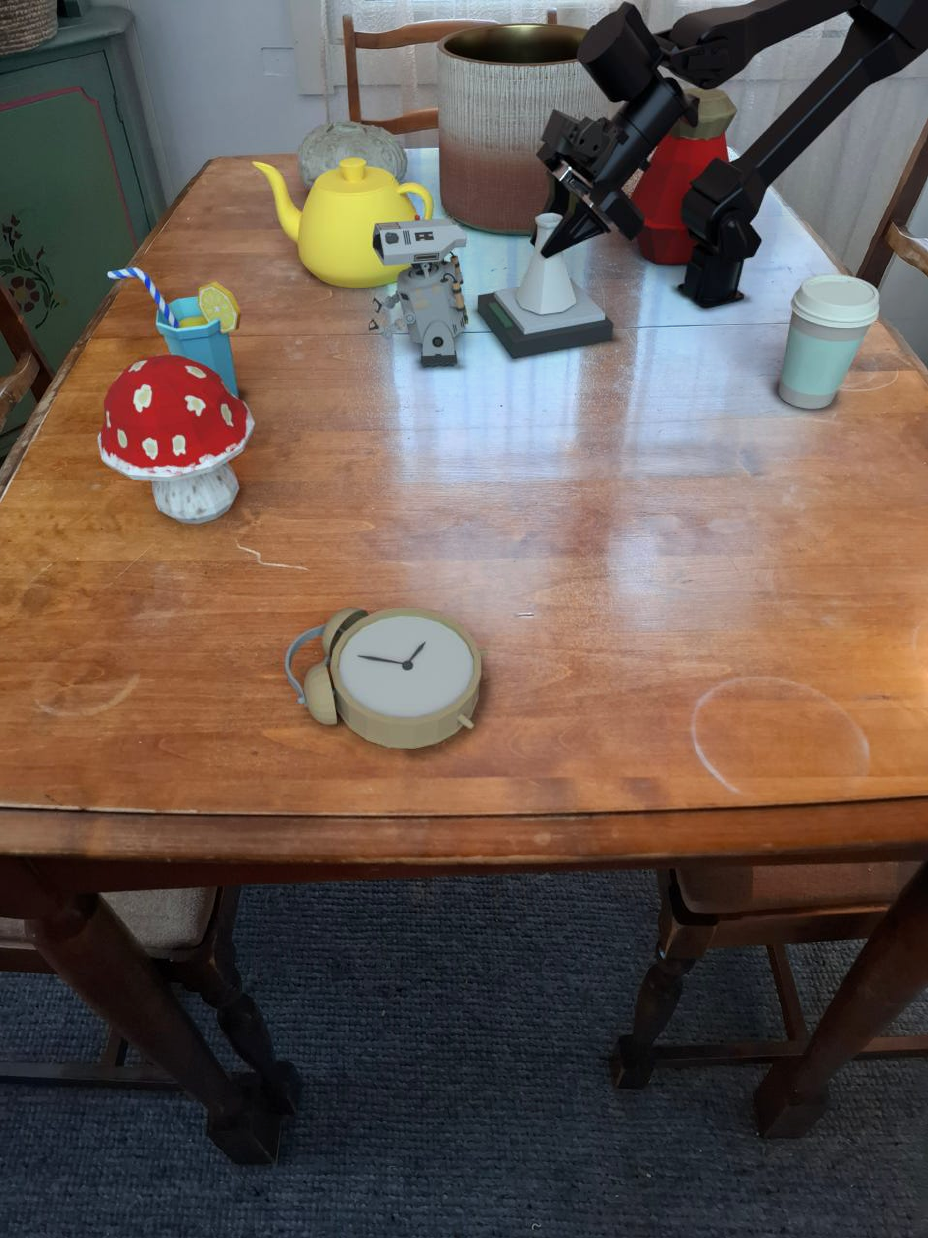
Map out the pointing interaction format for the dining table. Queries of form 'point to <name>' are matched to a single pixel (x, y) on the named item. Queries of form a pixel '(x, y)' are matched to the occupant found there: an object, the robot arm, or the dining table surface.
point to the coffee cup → (825, 336)
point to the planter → (505, 118)
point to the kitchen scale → (543, 323)
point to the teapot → (346, 221)
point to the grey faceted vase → (546, 275)
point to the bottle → (680, 177)
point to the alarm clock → (393, 675)
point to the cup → (197, 325)
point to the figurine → (425, 284)
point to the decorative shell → (349, 150)
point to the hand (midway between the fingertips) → (537, 250)
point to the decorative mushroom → (176, 435)
